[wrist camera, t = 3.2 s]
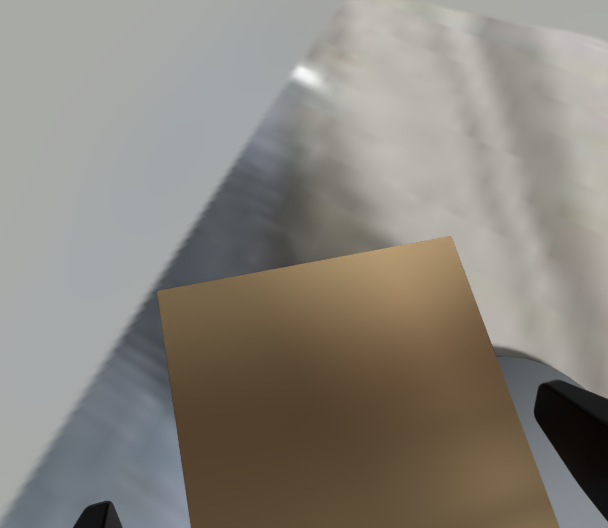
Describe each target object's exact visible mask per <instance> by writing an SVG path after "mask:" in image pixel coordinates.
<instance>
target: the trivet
mask: <svg viewBox="0 0 608 528" xmlns="http://www.w3.org/2000/svg"><path fill="white" fill-rule="evenodd" d="M496 358H497V360H498V363H499V366H500V368H501V371H502V374H503V376H504V379H505V382H506V384H507V387H508V390H509V392H510V395H511V398H512V400H513V403H514V406H515V409H516V411H517V414H518V417H519V419H520V422H521V425H522V427H523V430H524V433H525V435H526V438H527V441H528V443H529V446H530V449H531V452H532V454H533V457H534V460H535V462H536V465H537V468H538V470H539V473H540V476H541V478H542V481H543V484H544V486H545V489H546V492H547V495H548V497H549V500H550V503H551V505H552V508H553V511H554V513H555V516H556V519H557V521H558V524H559V527H560V528H608V522H607V520H606V519H605V518H604V517H603V515H602V514H601V513H600V512H599V510H598V509H597V508H596V507H595V505H594V504H593V503H592V502H591V500H590V499H589V498H588V496H587V495H586V494H585V493H584V491H583V490H582V489H581V487H580V486H579V485H578V483H577V482H576V480H575V479H574V477H573V476H572V475H571V473H570V472H569V470H568V469H567V467H566V465H565V464H564V462H563V461H562V459H561V458H560V456H559V455H558V453H557V452H556V450H555V449H554V447H553V446H552V444H551V443H550V441H549V440H548V438H547V437H546V435H545V434H544V432H543V431H542V429H541V428H540V426H539V425H538V423H537V421H536V419H535V416H534V405H535V400H536V395H537V390H538V386H539V385H540V384H541V383H543V382H546V381H550V380H554V379H559V380H562V381H565V382H567V383H570V384H572V385H575V386H577V387H580V388H582V389H584V388H583V387H582V386H581V385H579V384H578V383H576V382H575V381H574V380H572V379H571V378H570V377H568V376H566V375H565V374H563V373H561V372H559V371H558V370H556V369H554V368H551V367H549V366H547V365H544V364H542V363H539V362H536V361H532V360H529V359H524V358H517V357H501V356H497V357H496Z"/></svg>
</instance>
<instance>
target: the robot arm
mask: <svg viewBox="0 0 608 528" xmlns="http://www.w3.org/2000/svg"><path fill="white" fill-rule="evenodd" d="M534 416H535V419H536V421H537V423H538V425H539V426H540V428H541V429H542V431H543V432H544V434H545V435H546V437H547V438H548V440H549V441H550V443H551V444H552V446H553V447H554V449H555V450H556V452H557V453H558V455H559V456H560V458H561V459H562V461H563V462H564V464H565V465H566V467H567V469H568V470H569V472H570V473H571V475H572V476H573V477H574V479H575V480H576V482H577V483H578V485H579V486H580V487H581V489H582V490H583V491H584V493H585V494H586V495H587V496H588V498H589V499H590V500H591V502H592V503H593V504H594V505H595V507H596V508H597V509H598V510H599V512H600V513H601V514H602V515H603V517H604V518H605V519H606V520H607V522H608V399H607V398H604V397H602V396H599V395H597V394H594V393H592V392H589V391H587V390H585V389H582V388H580V387H577V386H575V385H572V384H570V383H567V382H565V381H562V380H559V379H554V380H550V381H546V382H543V383H541V384H540V385H539V386H538V390H537V395H536V400H535V405H534ZM73 528H123V527H122V525H121V522H120V520H119V517H118V515H117V512H116V510H115V507H114V505H113V503H112V502H111V501H103V502H100V503H96V504H92V505H90V506H88V507H86V508H85V510H84V511H83V512H82V514H81V516H80V517H79V519H78V520H77V522H76V524H75V525H74V527H73Z"/></svg>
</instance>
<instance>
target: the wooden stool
mask: <svg viewBox="0 0 608 528" xmlns="http://www.w3.org/2000/svg"><path fill="white" fill-rule="evenodd" d="M157 296H158V302H159V309H160V316H161V323H162V330H163V337H164V344H165V351H166V358H167V365H168V372H169V379H170V385H171V392H172V399H173V406H174V413H175V420H176V427H177V434H178V441H179V448H180V455H181V462H182V468H183V475H184V482H185V489H186V496H187V503H188V510H189V517H190V524H191V528H560V527H559V524H558V521H557V519H556V516H555V513H554V511H553V508H552V505H551V503H550V500H549V497H548V495H547V492H546V489H545V486H544V484H543V481H542V478H541V476H540V473H539V470H538V468H537V465H536V462H535V460H534V457H533V454H532V452H531V449H530V446H529V443H528V441H527V438H526V435H525V433H524V430H523V427H522V425H521V422H520V419H519V417H518V414H517V411H516V409H515V406H514V403H513V400H512V398H511V395H510V392H509V390H508V387H507V384H506V382H505V379H504V376H503V374H502V371H501V368H500V366H499V363H498V360H497V358H496V355H495V352H494V349H493V347H492V344H491V341H490V339H489V336H488V333H487V331H486V328H485V325H484V323H483V320H482V317H481V315H480V312H479V309H478V306H477V304H476V301H475V298H474V296H473V293H472V290H471V288H470V285H469V282H468V280H467V277H466V274H465V272H464V269H463V266H462V263H461V261H460V258H459V255H458V253H457V250H456V247H455V245H454V242H453V239H452V237H451V236H448V237H443V238H438V239H432V240H427V241H421V242H416V243H411V244H405V245H400V246H395V247H389V248H384V249H379V250H373V251H368V252H362V253H357V254H352V255H346V256H341V257H336V258H330V259H325V260H320V261H314V262H309V263H303V264H298V265H293V266H287V267H282V268H277V269H271V270H266V271H261V272H255V273H250V274H244V275H239V276H234V277H228V278H223V279H218V280H212V281H207V282H202V283H196V284H191V285H185V286H180V287H175V288H169V289H164V290H159V291H157Z"/></svg>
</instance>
